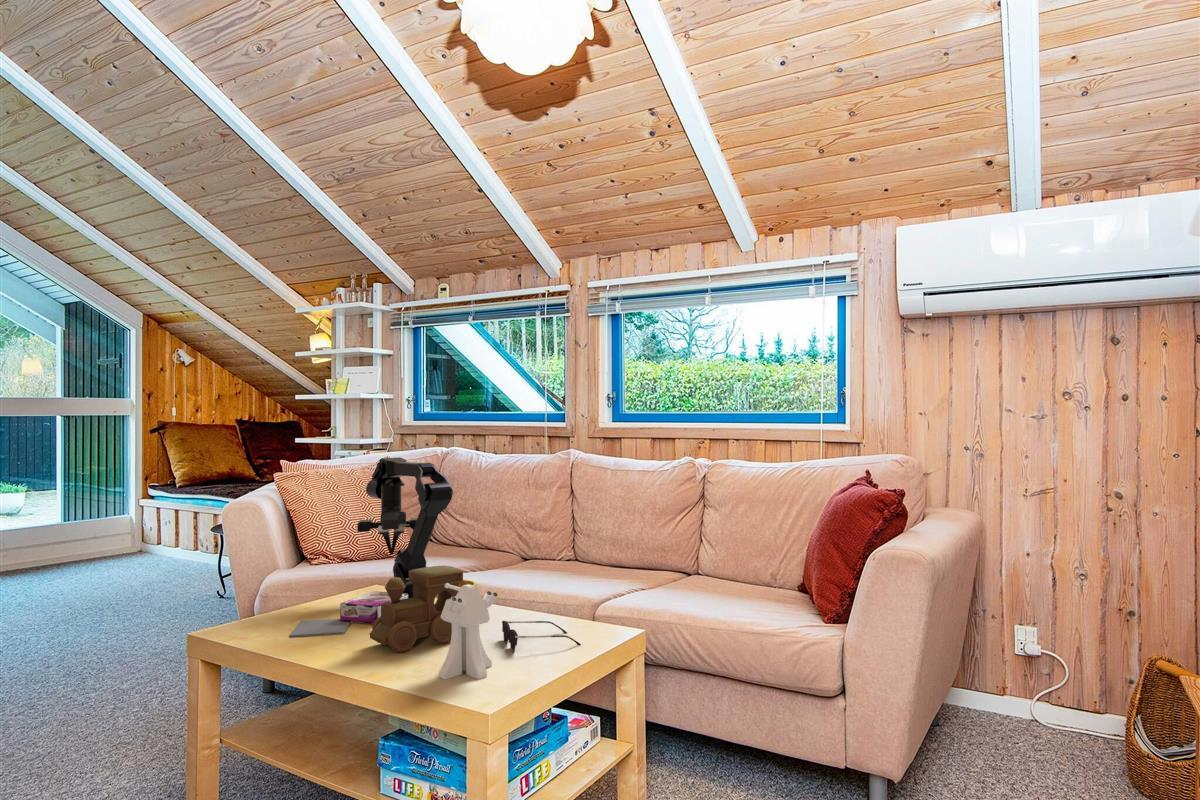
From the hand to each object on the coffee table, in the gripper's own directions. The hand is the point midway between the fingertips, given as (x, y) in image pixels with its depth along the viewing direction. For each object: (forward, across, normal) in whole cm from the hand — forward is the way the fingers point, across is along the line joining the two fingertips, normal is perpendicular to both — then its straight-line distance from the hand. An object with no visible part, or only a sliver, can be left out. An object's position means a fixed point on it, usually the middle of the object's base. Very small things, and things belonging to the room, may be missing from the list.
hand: (391, 554), depth 233 cm
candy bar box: (+10, -7, -27) cm, 30 cm away
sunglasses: (+13, +36, -55) cm, 67 cm away
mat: (+13, -16, -28) cm, 34 cm away
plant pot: (+13, +17, -30) cm, 37 cm away
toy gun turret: (+12, +17, -71) cm, 74 cm away
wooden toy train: (+13, +8, -48) cm, 50 cm away
